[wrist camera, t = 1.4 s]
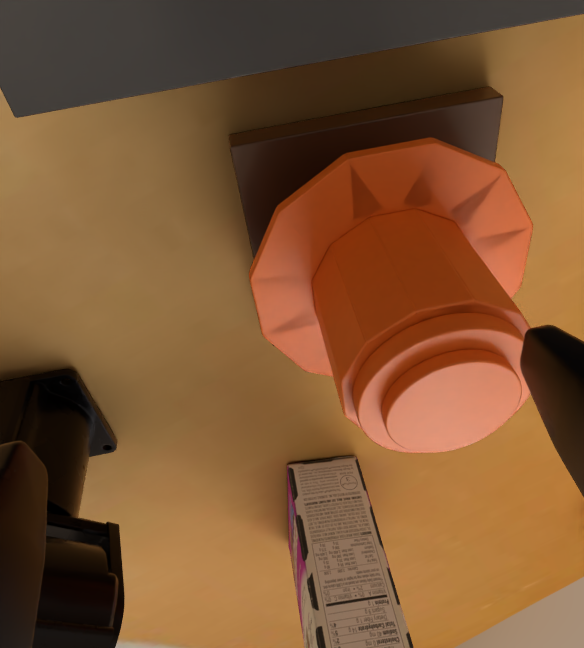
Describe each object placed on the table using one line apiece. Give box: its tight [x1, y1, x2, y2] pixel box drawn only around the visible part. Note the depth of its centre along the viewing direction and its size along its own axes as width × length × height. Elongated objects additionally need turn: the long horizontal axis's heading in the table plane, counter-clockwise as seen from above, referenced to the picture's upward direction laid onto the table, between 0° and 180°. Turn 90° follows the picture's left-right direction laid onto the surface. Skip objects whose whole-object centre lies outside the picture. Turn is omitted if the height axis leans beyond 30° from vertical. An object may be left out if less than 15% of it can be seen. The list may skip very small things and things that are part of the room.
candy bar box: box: [287, 456, 413, 648], centre depth 31 cm, size 11×5×16 cm, turn 1°
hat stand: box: [229, 87, 503, 346], centre depth 20 cm, size 10×10×9 cm
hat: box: [249, 137, 533, 453], centre depth 18 cm, size 10×10×7 cm
